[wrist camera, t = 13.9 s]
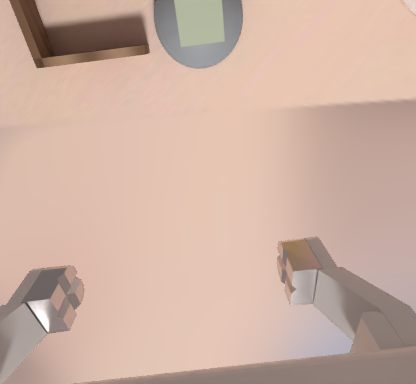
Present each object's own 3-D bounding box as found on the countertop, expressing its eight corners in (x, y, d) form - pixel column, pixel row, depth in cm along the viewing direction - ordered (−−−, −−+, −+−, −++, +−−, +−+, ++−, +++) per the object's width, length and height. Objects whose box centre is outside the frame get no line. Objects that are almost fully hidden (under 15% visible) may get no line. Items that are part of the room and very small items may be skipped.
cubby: (128, -55, 30) (121, -65, 27) (149, 52, 35) (145, 54, 32) (10, -39, 30) (-10, -47, 27) (50, 65, 36) (36, 68, 33)
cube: (217, -8, 32) (220, -15, 27) (220, 40, 34) (224, 41, 30) (175, -2, 32) (173, -8, 27) (182, 45, 34) (180, 47, 30)
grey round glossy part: (239, -42, 31) (240, -44, 30) (243, 62, 37) (244, 63, 36) (146, -29, 31) (144, -31, 30) (164, 72, 37) (163, 73, 36)
